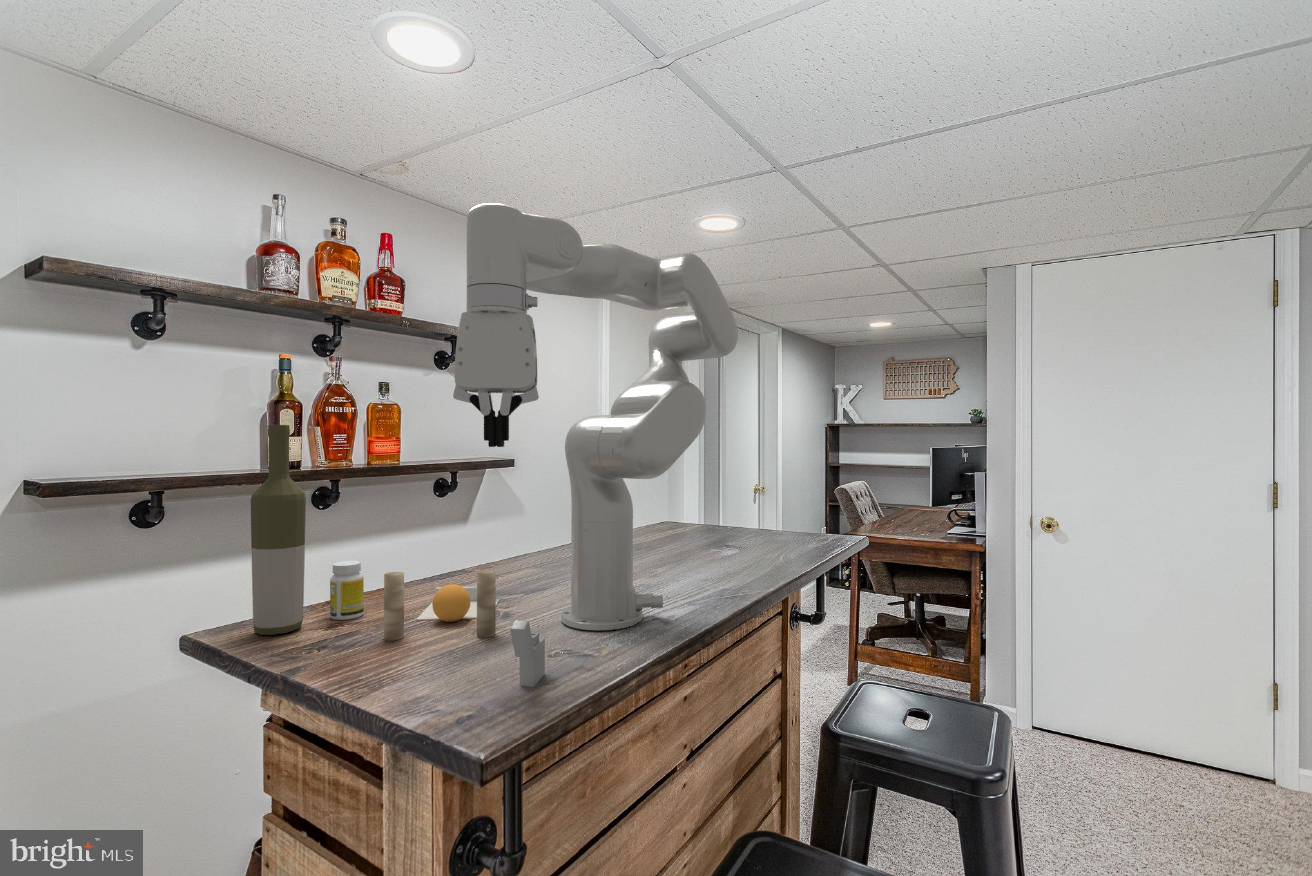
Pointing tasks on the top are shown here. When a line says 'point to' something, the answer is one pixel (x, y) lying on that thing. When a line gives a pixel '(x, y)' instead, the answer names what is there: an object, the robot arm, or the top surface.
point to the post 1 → (393, 606)
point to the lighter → (528, 653)
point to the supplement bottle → (346, 591)
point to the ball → (451, 603)
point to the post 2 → (486, 603)
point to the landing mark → (430, 615)
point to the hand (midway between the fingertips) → (496, 446)
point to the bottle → (278, 543)
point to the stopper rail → (470, 589)
